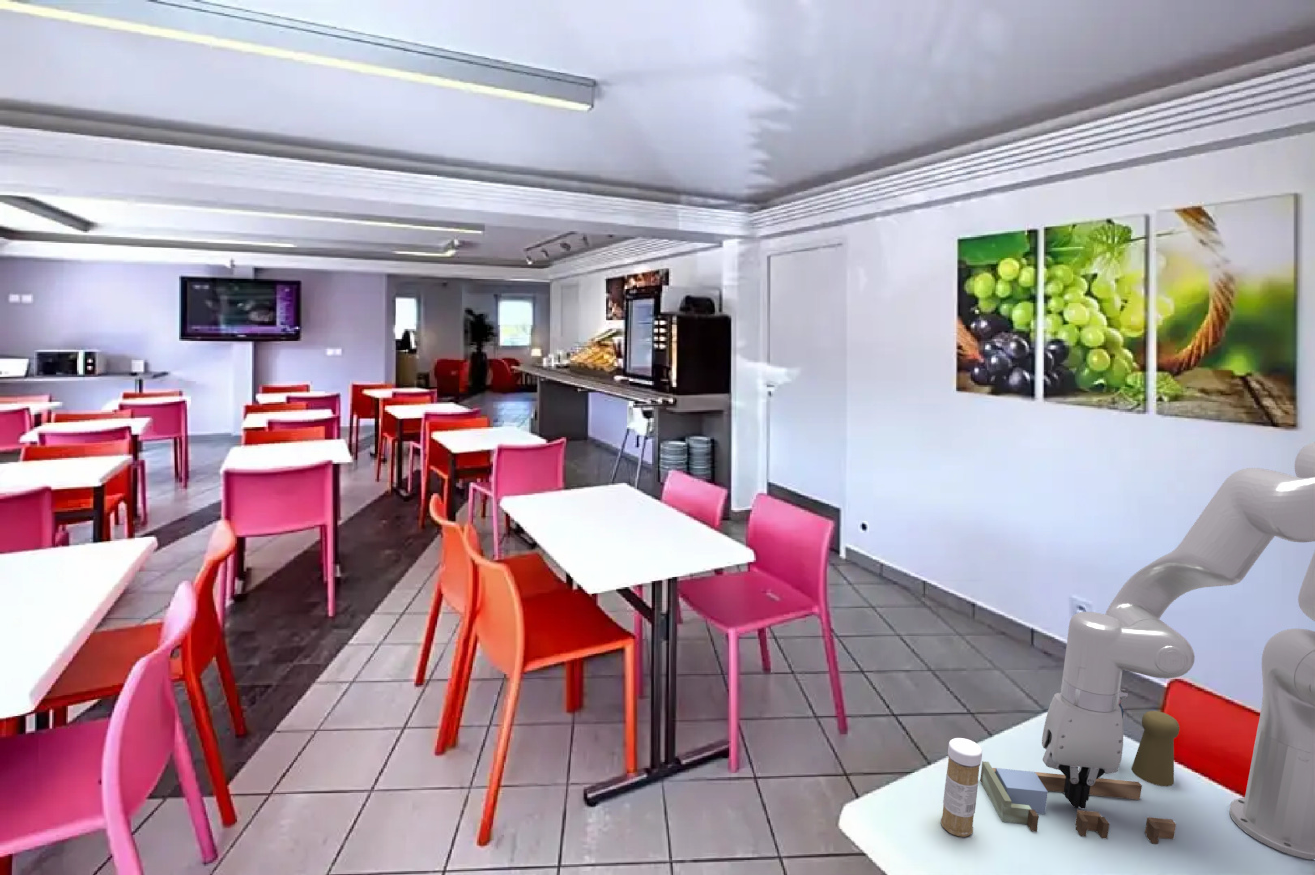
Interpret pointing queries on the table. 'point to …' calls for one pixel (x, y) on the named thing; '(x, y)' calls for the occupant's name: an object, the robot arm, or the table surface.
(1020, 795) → the block
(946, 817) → the sprinkles bottle
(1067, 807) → the table surface
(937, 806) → the table surface
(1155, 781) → the cork
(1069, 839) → the table surface
